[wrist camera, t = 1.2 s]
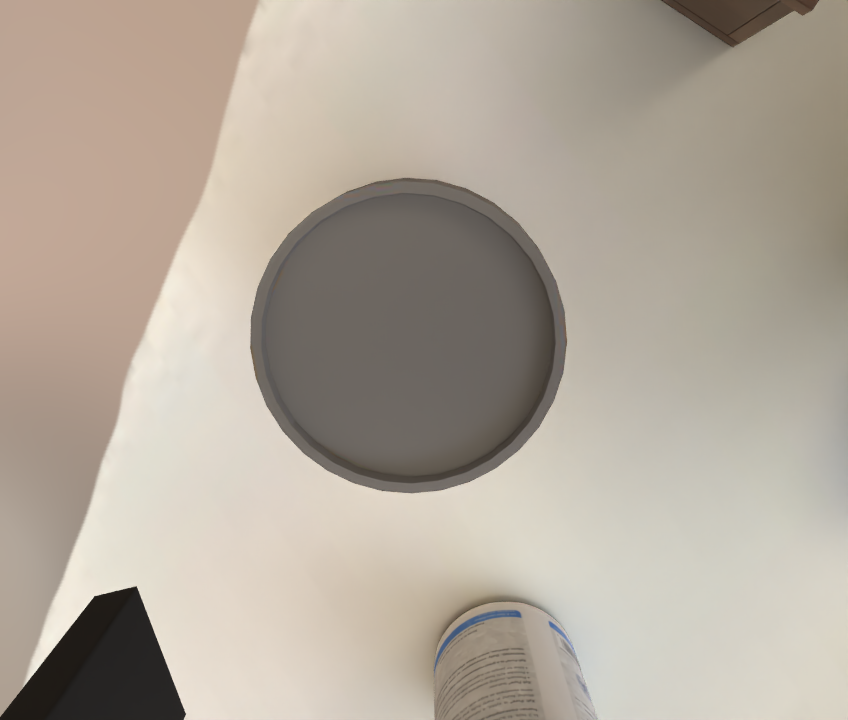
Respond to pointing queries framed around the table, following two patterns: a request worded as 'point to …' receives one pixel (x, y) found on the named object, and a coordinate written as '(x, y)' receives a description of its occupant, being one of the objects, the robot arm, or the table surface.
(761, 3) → the bin
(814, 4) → the bin lid
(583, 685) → the supplement tub
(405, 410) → the reusable coffee cup
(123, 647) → the robot arm
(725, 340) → the table surface
